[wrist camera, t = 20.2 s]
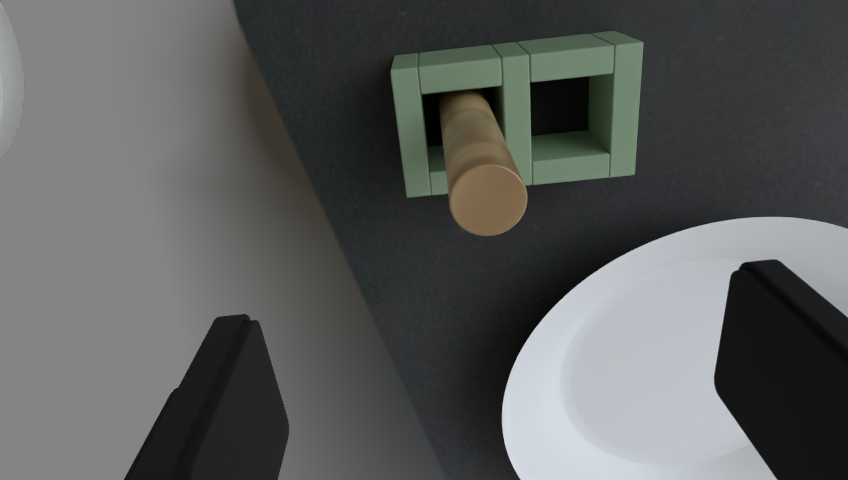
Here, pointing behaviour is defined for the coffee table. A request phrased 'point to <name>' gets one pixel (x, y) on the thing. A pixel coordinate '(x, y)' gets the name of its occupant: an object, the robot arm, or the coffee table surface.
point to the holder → (527, 106)
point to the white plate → (653, 358)
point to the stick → (479, 165)
